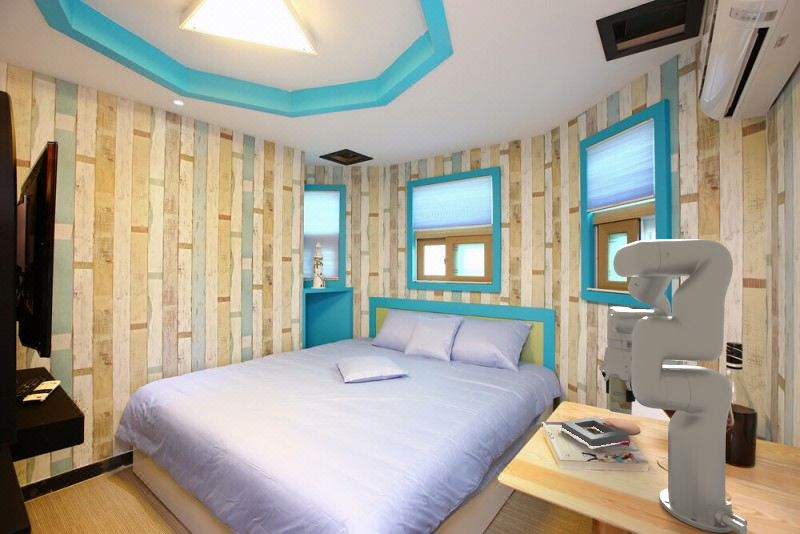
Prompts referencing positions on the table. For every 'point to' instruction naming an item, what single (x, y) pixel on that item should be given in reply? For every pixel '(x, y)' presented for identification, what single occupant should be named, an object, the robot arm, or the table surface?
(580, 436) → the gray square frame
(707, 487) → the robot arm
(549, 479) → the table surface
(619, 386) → the skincare box
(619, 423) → the coaster
